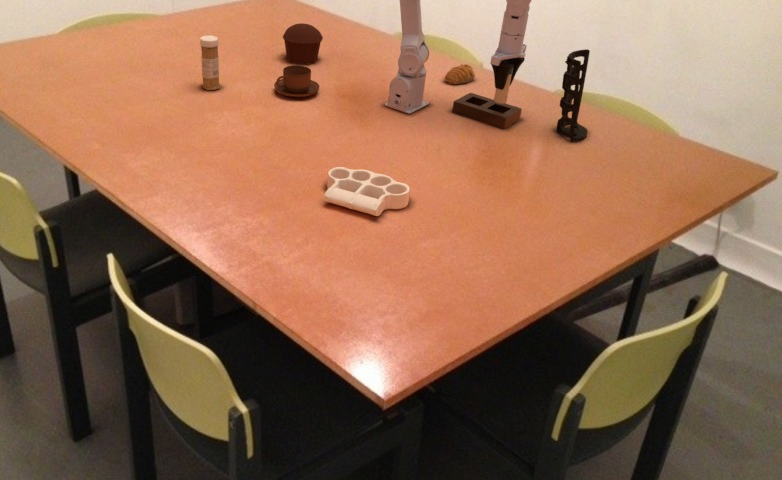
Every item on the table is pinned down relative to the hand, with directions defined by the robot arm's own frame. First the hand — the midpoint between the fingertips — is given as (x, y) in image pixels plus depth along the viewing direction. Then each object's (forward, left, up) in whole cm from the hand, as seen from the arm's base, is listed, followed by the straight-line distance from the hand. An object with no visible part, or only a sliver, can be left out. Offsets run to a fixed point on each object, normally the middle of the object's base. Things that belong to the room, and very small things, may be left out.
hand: (502, 86), depth 193 cm
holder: (+5, -17, -9) cm, 20 cm away
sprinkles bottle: (-38, +66, -9) cm, 76 cm away
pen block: (0, +3, -9) cm, 9 cm away
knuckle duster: (-58, 0, -9) cm, 58 cm away
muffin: (-3, +64, -9) cm, 64 cm away
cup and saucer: (-24, +48, -9) cm, 54 cm away
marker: (0, 0, -4) cm, 4 cm away
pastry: (+17, +22, -9) cm, 29 cm away
